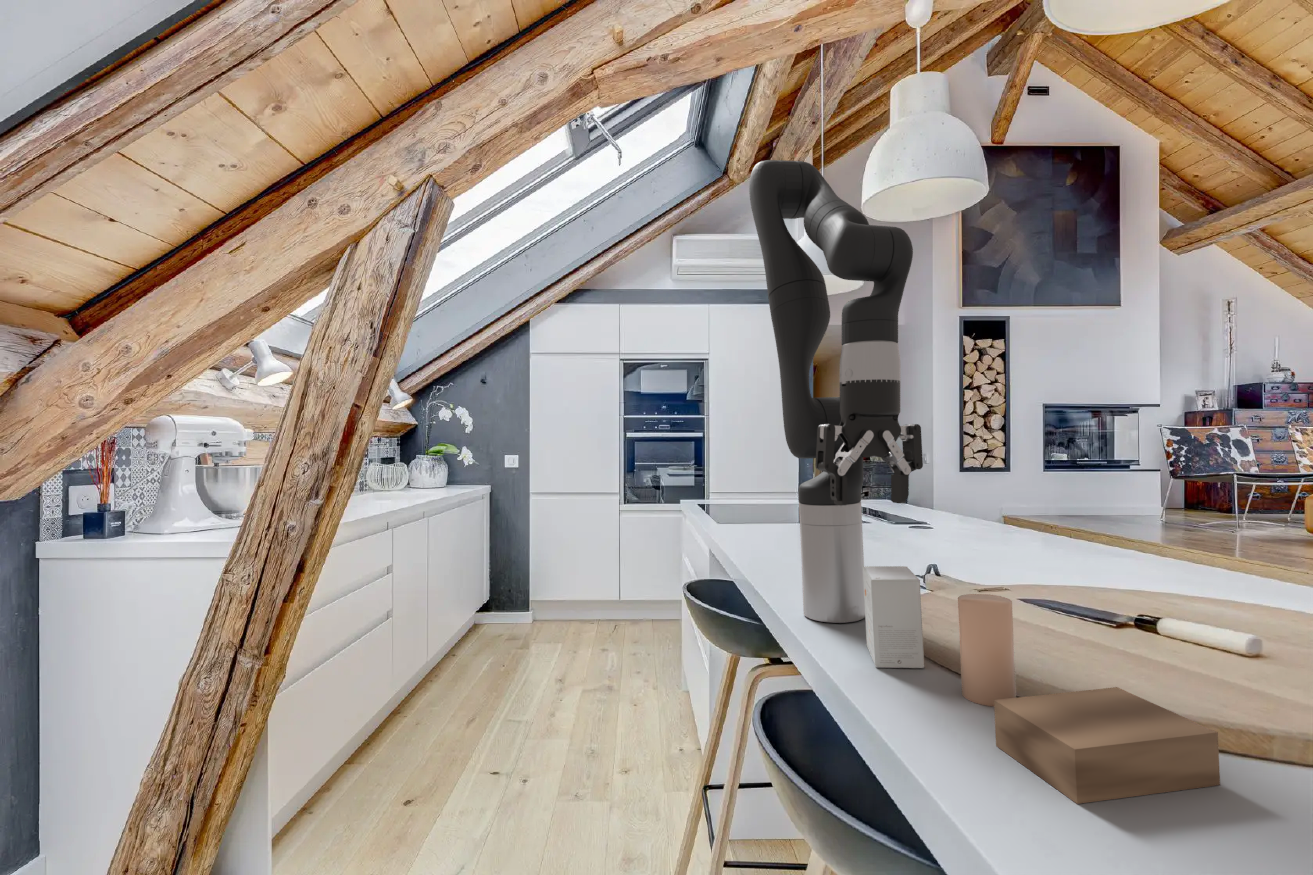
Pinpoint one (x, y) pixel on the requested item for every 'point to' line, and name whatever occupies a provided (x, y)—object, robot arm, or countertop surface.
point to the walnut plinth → (1106, 744)
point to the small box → (893, 617)
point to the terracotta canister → (986, 648)
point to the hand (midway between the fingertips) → (869, 503)
